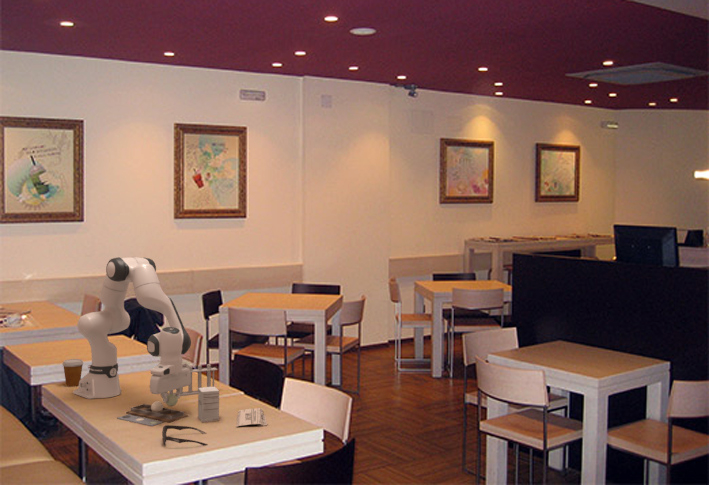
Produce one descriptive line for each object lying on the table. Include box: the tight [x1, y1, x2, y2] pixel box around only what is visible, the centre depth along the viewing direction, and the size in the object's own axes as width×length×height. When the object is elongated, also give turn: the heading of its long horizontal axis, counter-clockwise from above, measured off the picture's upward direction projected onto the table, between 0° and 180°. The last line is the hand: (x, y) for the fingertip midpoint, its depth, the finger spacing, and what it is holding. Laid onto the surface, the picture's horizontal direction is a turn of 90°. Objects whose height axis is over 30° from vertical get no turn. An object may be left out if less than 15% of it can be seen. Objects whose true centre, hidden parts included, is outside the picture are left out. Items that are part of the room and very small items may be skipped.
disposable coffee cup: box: [62, 358, 84, 388], centre depth 344 cm, size 10×10×12 cm
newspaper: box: [236, 407, 268, 428], centre depth 292 cm, size 23×12×2 cm, turn 8°
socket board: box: [125, 403, 189, 424], centre depth 295 cm, size 25×11×2 cm, turn 60°
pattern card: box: [116, 414, 164, 427], centre depth 287 cm, size 20×6×1 cm, turn 60°
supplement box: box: [197, 386, 220, 423], centre depth 290 cm, size 7×7×13 cm
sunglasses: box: [161, 424, 209, 447], centre depth 263 cm, size 16×17×5 cm
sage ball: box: [165, 394, 179, 407], centre depth 291 cm, size 5×5×5 cm
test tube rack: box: [166, 363, 218, 397], centre depth 330 cm, size 25×4×13 cm, turn 117°
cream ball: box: [150, 400, 164, 413], centre depth 295 cm, size 5×5×5 cm
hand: (171, 400), depth 291 cm, fingers closed on sage ball, 5 cm apart
